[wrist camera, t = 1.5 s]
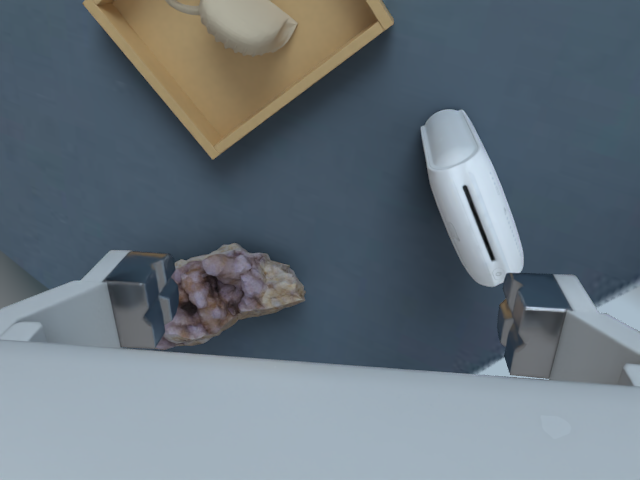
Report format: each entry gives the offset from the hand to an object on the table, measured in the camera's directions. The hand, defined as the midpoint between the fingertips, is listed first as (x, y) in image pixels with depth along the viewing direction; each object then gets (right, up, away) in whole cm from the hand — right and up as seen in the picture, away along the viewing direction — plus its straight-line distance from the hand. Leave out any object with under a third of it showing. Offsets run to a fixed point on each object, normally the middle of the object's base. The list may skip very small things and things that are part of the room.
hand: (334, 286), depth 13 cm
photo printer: (+11, +7, +31) cm, 34 cm away
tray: (-6, +19, +27) cm, 34 cm away
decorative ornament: (-6, +19, +27) cm, 34 cm away
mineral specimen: (-12, -2, +39) cm, 41 cm away
